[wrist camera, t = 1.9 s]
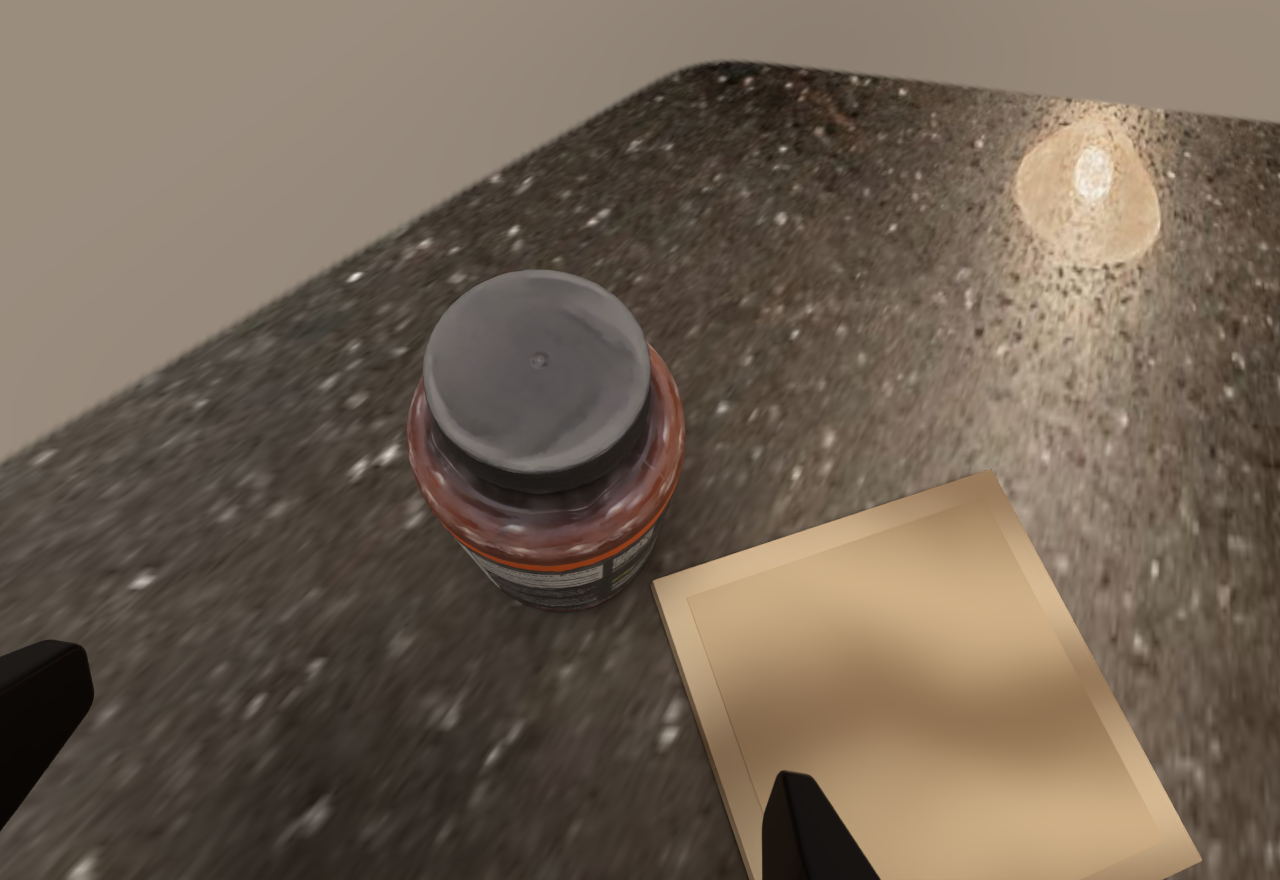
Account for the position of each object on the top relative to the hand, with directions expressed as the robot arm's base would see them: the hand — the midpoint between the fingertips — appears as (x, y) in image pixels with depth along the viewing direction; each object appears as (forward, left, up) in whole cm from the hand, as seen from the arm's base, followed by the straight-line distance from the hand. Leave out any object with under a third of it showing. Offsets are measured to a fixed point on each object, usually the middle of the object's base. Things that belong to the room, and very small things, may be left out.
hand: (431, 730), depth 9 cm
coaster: (-7, -9, -12) cm, 17 cm away
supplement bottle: (+4, -4, -12) cm, 14 cm away
